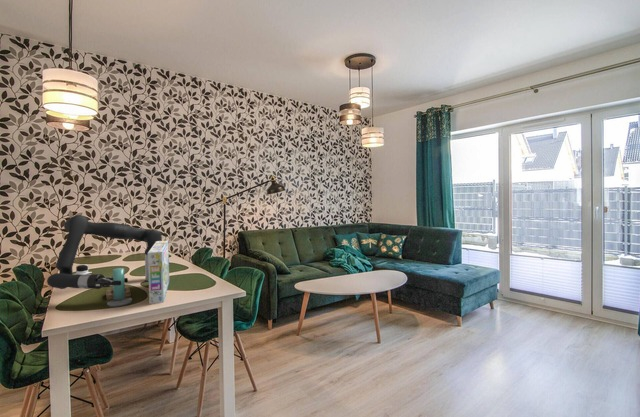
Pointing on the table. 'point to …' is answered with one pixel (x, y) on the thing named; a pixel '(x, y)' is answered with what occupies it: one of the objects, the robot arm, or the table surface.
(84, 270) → the medicine bottle
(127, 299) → the coaster
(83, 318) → the table surface
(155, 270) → the game box
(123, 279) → the tall teal cylinder
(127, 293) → the pocket block
